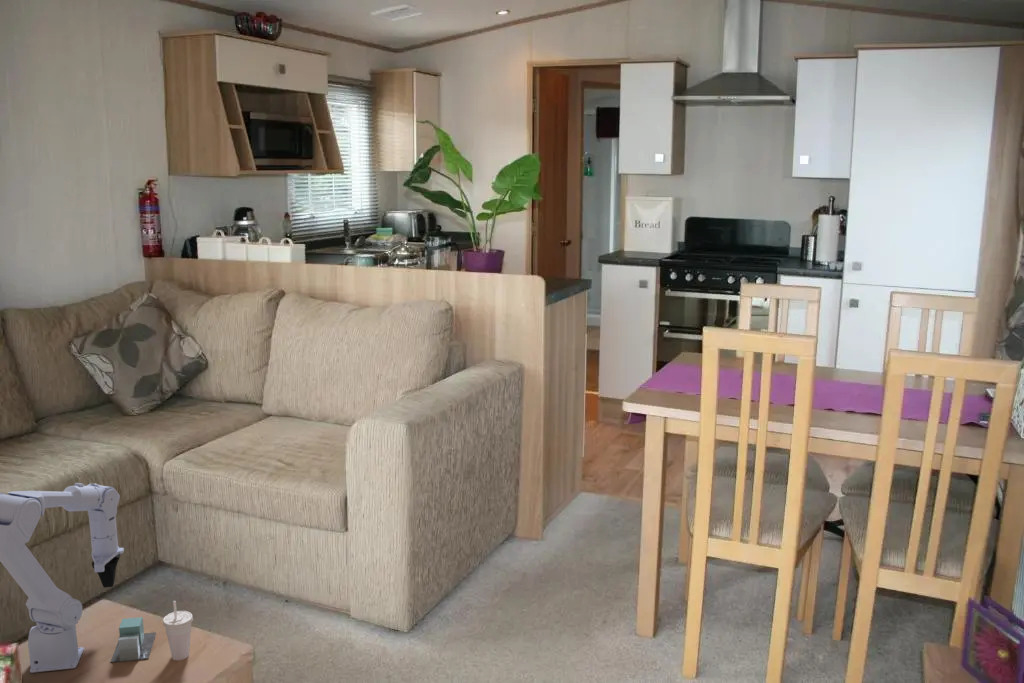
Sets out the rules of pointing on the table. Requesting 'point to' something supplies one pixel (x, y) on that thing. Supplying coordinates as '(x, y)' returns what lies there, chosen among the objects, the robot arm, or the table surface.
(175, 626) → the smoothie
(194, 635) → the table surface
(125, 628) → the teal block on rod
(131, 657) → the grey metal stand
